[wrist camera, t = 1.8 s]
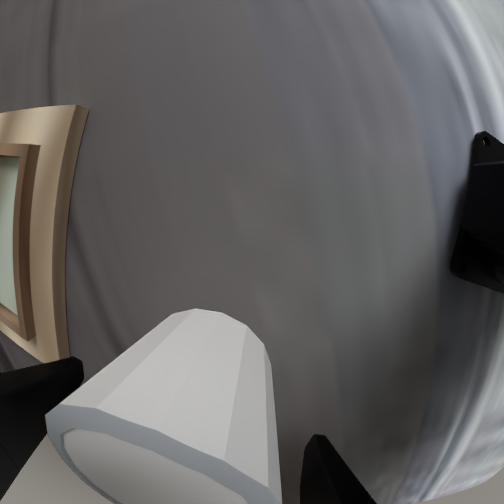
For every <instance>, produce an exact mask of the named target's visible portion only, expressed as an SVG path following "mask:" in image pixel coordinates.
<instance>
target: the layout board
mask: <svg viewBox="0 0 504 504" xmlns="http://www.w3.org/2000/svg"><path fill="white" fill-rule="evenodd" d="M88 112H89V109H87V108H84V107H81V106H78V105H63V106H50V107H40V108H32V109H24V110H17V111H11V112H5V113H0V330H1V331H2V332H3V333H4V334H5V335H7V336H8V337H9V338H10V339H11V340H13V341H14V342H15V343H17V344H18V345H19V346H20V347H22V348H23V349H24V350H26V351H27V352H28V353H30V354H31V355H33V356H34V357H35V358H37V359H38V360H40V361H41V362H43V363H48V362H52V361H56V360H60V359H64V358H68V357H70V351H69V343H68V333H67V321H66V304H65V251H66V234H67V222H68V212H69V204H70V196H71V189H72V183H73V177H74V171H75V166H76V161H77V156H78V151H79V146H80V142H81V138H82V134H83V130H84V126H85V122H86V119H87V115H88Z"/></svg>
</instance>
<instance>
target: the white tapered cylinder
mask: <svg viewBox="0 0 504 504" xmlns="http://www.w3.org/2000/svg"><path fill="white" fill-rule="evenodd" d="M45 418H46V426H47V433H48V437H49V438H50V440H51V442H52V444H53V445H54V447H55V449H56V450H57V452H58V454H59V455H60V457H61V458H62V460H63V461H64V462H65V463H66V464H67V465H68V466H69V467H70V468H71V469H72V470H73V471H74V472H75V473H76V474H77V475H78V476H79V477H80V478H81V479H82V480H83V481H84V482H85V483H86V484H87V485H88V486H90V487H91V488H92V489H94V490H95V491H97V492H98V493H99V494H101V495H102V496H104V497H105V498H107V499H108V500H110V501H111V502H113V503H114V504H282V493H281V480H280V467H279V454H278V441H277V429H276V417H275V405H274V393H273V381H272V370H271V364H270V361H269V358H268V355H267V352H266V349H265V346H264V344H263V343H262V342H261V341H260V340H259V339H258V337H257V336H256V335H255V334H254V333H253V332H252V331H251V330H250V329H249V328H248V326H247V325H245V324H243V323H241V322H239V321H237V320H235V319H233V318H231V317H229V316H227V315H226V314H224V313H221V312H214V311H208V310H201V309H192V310H187V311H183V312H178V313H174V314H171V315H170V316H169V317H168V318H166V319H165V320H164V321H163V322H161V323H160V324H159V325H158V326H156V327H155V328H154V329H153V330H151V331H150V332H149V333H148V334H146V335H145V336H144V337H142V338H141V339H140V340H139V341H137V342H136V343H135V344H134V345H132V346H131V347H130V348H129V349H127V350H126V351H125V352H124V353H122V354H121V355H120V356H119V357H117V358H116V359H115V360H114V361H112V362H111V363H110V364H109V365H107V366H106V367H105V368H103V369H102V370H101V371H100V372H98V373H97V374H96V375H95V376H93V377H92V378H91V379H90V380H88V381H87V382H86V383H85V384H83V385H82V386H81V387H80V388H78V389H77V390H76V391H75V392H73V393H72V394H71V395H70V396H68V397H67V398H66V399H65V400H63V401H62V402H61V403H60V404H58V405H57V406H56V407H55V408H53V409H52V410H51V411H50V412H48V413H47V414H46V415H45Z"/></svg>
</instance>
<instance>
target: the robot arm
mask: <svg viewBox="0 0 504 504" xmlns="http://www.w3.org/2000/svg"><path fill="white" fill-rule="evenodd" d="M483 140H484V142H485V145H484V143H483ZM461 262H463V264H462V267H461V269H460V270H459V265H460V263H461ZM450 271H451V272H452V274H453V275H455V276H456V277H458V278H461V279H464V280H467V281H469V282H472V283H475V284H478V285H481V286H484V287H487V288H490V289H493V290H495V291H498V292H501V293H504V144H503V143H501V142H500V141H499V140H497V139H496V138H495V137H493V136H492V135H490V134H489V133H488V132H485V131H483V132H479V133H476V135H475V138H474V148H473V158H472V166H471V173H470V180H469V187H468V192H467V198H466V203H465V208H464V213H463V217H462V222H461V226H460V230H459V234H458V238H457V242H456V245H455V249H454V252H453V256H452V259H451V263H450ZM83 380H84V370H83V363H82V361H81V360H79V359H78V358H76V357H68V358H64V359H60V360H56V361H52V362H48V363H44V364H39V365H35V366H30V367H26V368H21V369H17V370H12V371H7V372H3V373H0V500H1V499H2V498H3V496H4V495H5V493H6V492H7V490H8V489H9V487H10V485H11V484H12V483H13V481H14V480H15V478H16V477H17V475H18V473H19V472H20V470H21V469H22V468H23V466H24V465H25V463H26V462H27V460H28V459H29V458H30V456H31V455H32V453H33V452H34V451H35V449H36V448H37V446H38V445H39V444H40V442H41V441H42V440H43V438H44V437H45V436H46V434H47V426H46V418H45V415H46V414H47V413H48V412H50V411H51V410H52V409H53V408H55V407H56V406H57V405H58V404H60V403H61V402H62V401H63V400H65V399H66V398H67V397H68V396H70V395H71V394H72V393H73V392H75V391H76V390H77V389H78V388H79V387H80V385H81V383H82V382H83ZM300 504H377V503H376V502H375V501H374V499H373V498H371V496H370V495H369V493H368V492H367V491H366V489H365V488H364V487H363V486H362V484H361V483H360V482H359V480H358V479H357V478H356V476H355V475H354V474H353V472H352V471H351V470H350V468H349V467H348V466H347V464H346V463H345V462H344V460H343V459H342V458H341V456H340V455H339V454H338V452H337V451H336V450H335V448H334V447H333V445H332V444H331V443H330V441H329V440H328V439H327V437H326V436H325V435H319V434H315V435H313V436H312V438H311V439H310V441H309V442H308V444H307V445H306V447H305V450H304V458H303V466H302V474H301V483H300Z"/></svg>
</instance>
